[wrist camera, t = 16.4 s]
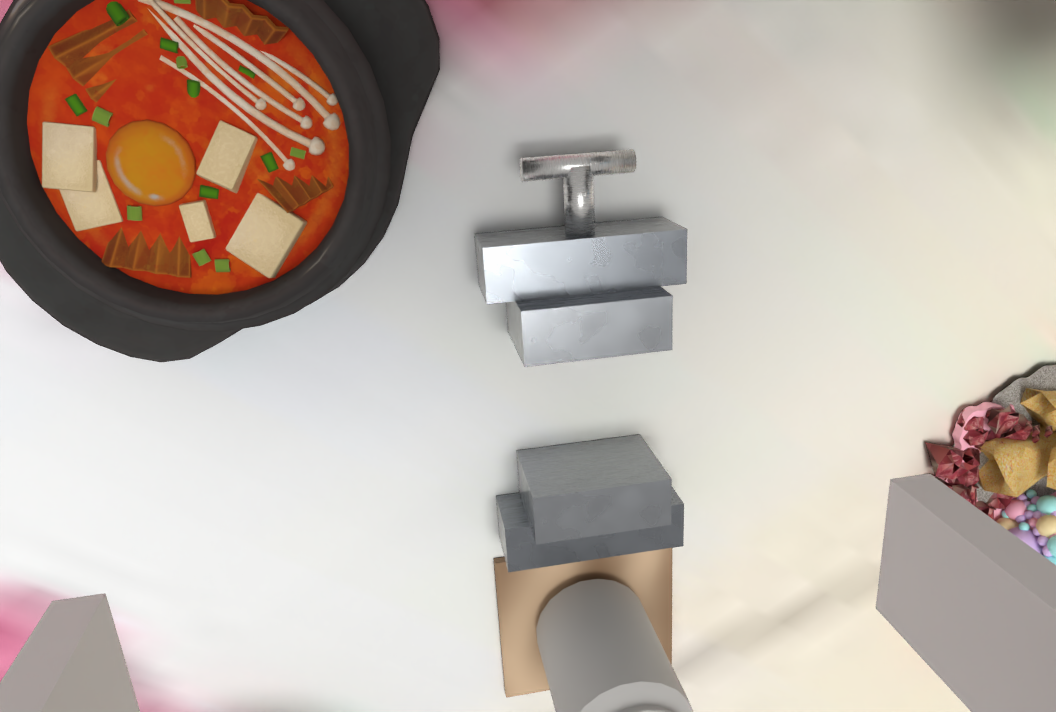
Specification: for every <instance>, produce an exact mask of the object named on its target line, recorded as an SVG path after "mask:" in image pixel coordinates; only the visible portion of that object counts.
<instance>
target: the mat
mask: <svg viewBox="0 0 1056 712" xmlns="http://www.w3.org/2000/svg"><path fill="white" fill-rule="evenodd" d="M494 570H495V581H496V593H497V604H498V616H499V628H500V639H501V651H502V663H503V674H504V686H505V694H506V697H512V696H518V695H523V694H529V693H535V692H541V691H546V690H550V688H549V685H548V681H547V677H546V673H545V670H544V666H543V662H542V658H541V655H540V651H539V647H538V643H537V632H536V627H537V624H538V620H539V617H540V614H541V612H542V611H543V609H544V608H545V606H546V605H547V604H548V602H549V601H550V599H552V598H553V597H554V596H555V595H557V594H558V593H559V592H560V591H562V590H563V589H564V588H567V587H569V586H571V585H573V584H576V583H578V582H580V581H586V580H592V579H605V580H613V581H616V582H618V583H620V584H623V585H625V586H627V587H629V588H630V589H631V590H632V591H633V592H634V593H635V594H636V595H637V596H638V597H639V599H640V601H641V603H642V606H643V608H644V610H645V612H646V614H647V616H648V618H649V620H650V622H651V624H652V626H653V628H654V630H655V632H656V634H657V636H658V639H659V641H660V643H661V645H662V647H663V649H664V651H665V653H666V655H667V657H668V659H669V661H670V663H671V665H672V548H667V549H660V550H653V551H647V552H640V553H634V554H627V555H620V556H614V557H607V558H601V559H594V560H587V561H581V562H574V563H568V564H561V565H554V566H548V567H541V568H535V569H528V570H521V571H515V572H508V569H507V565H506V561H505V557H500V558H494Z"/></svg>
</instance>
